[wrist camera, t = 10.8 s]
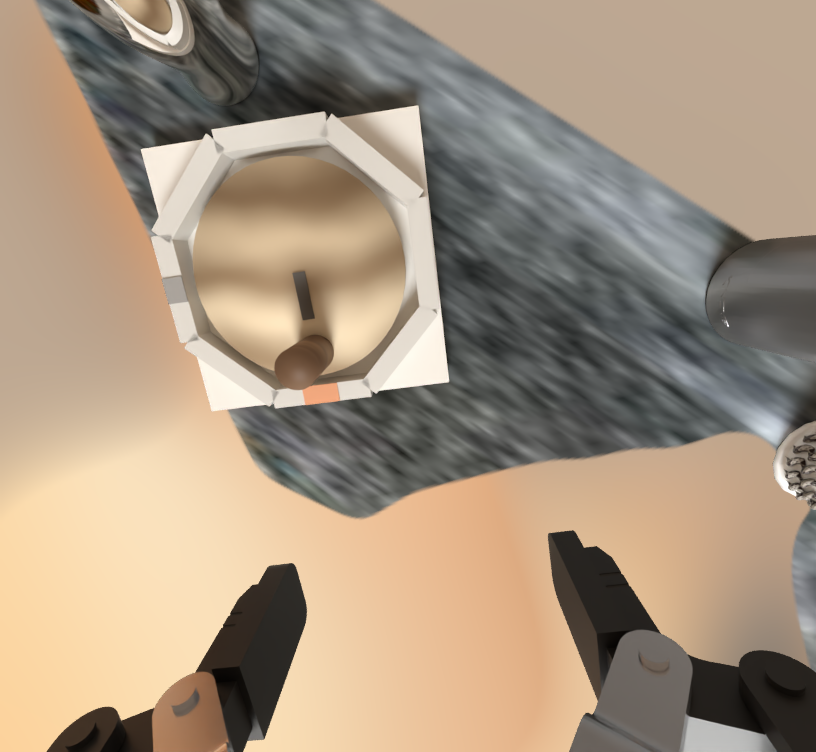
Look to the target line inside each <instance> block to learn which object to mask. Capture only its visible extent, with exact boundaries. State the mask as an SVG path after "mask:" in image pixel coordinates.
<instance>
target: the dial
mask: <svg viewBox="0 0 816 752" xmlns="http://www.w3.org/2000/svg"><path fill="white" fill-rule="evenodd" d="M193 271H194V279H195V283H196V288H197V291H198V294H199V297H200V300H201V303H202V305H203V307H204V309H205V311H206V313H207V315H208V317H209V319H210V320H211V322H212V324H213V325H214V327H215V328H216V329H217V331H218V332H219V333H220V334H221V336H222V337H223V338H224V339H225V340H226V341H227V342H228V343H229V344H230V345H231V346H232V347H233V348H234V349H235V350H237V351H238V352H239V353H241V354H242V355H243V356H245V357H246V358H248V359H249V360H251V361H253V362H254V363H256V364H258V365H260V366H262V367H265V368H267V369H269V370H273V371H275V375H276V377H277V379H278V380H279V382H280V383H281V384H282V385H284V386H285V387H287V388H289V389H292V390H303V389H306V388H308V387H309V386H311V385H312V384H313V383H314V381H315V380H316V379H317V378H318V377H319V376H320V375H324V374H329V373H334V372H336V371H339V370H342V369H345V368H347V367H349V366H351V365H353V364H355V363H357V362H358V361H360V360H361V359H363V358H364V357H365V356H367V355H368V354H369V353H370V352H371V351H373V350H374V349H375V348H376V347H377V346H378V345H379V343H380V342H381V341H382V340H383V339H384V337H385V336H386V335H387V333H388V332H389V330H390V328H391V327H392V325H393V323H394V321H395V319H396V317H397V314H398V312H399V309H400V306H401V303H402V300H403V295H404V289H405V279H406V267H405V256H404V252H403V247H402V243H401V240H400V237H399V234H398V231H397V229H396V227H395V225H394V223H393V221H392V219H391V217H390V215H389V213H388V211H387V210H386V208H385V207H384V206H383V204H382V203H381V201H380V200H379V199H378V198H377V196H376V195H375V194H374V193H373V192H372V191H371V190H370V189H369V188H368V187H367V186H366V185H365V184H364V183H362V182H361V181H360V180H359V179H358V178H356V177H355V176H353V175H352V174H350V173H349V172H347V171H346V170H344V169H342V168H340V167H338V166H336V165H334V164H331V163H328V162H325V161H322V160H319V159H315V158H309V157H304V156H282V157H273V158H269V159H265V160H261V161H258V162H256V163H254V164H251V165H249V166H247V167H245V168H243V169H242V170H240V171H238V172H237V173H235V174H234V175H233V176H231V177H230V178H229V179H228V180H227V181H225V182H224V183H223V184H222V185H221V186H220V188H219V189H218V190H217V191H216V192H215V193H214V194H213V196H212V197H211V199H210V201H209V202H208V204H207V205H206V207H205V209H204V211H203V213H202V215H201V218H200V220H199V223H198V227H197V230H196V233H195V239H194V245H193Z"/></svg>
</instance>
